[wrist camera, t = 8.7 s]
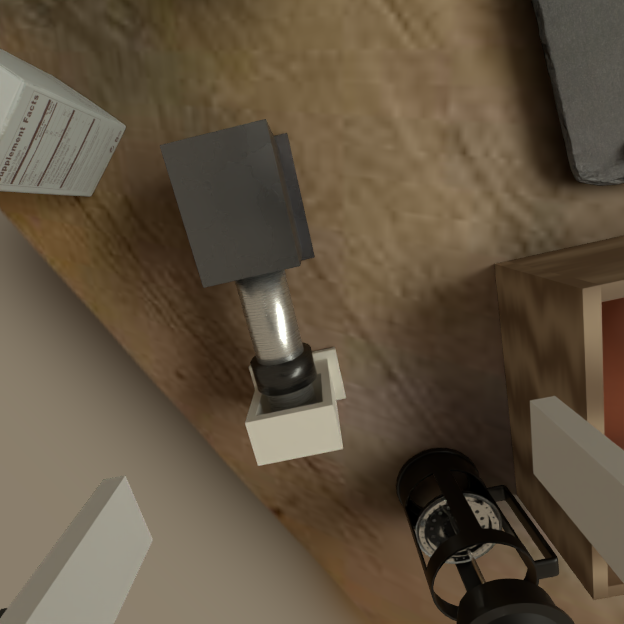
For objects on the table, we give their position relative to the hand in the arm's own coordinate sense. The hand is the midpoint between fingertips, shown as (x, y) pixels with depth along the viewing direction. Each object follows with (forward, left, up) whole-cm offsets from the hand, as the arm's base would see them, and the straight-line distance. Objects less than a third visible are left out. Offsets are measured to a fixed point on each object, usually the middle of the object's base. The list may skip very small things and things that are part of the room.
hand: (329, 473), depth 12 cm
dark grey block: (-9, -4, -26) cm, 28 cm away
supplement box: (-19, -18, -26) cm, 36 cm away
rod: (+1, -4, -22) cm, 22 cm away
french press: (+24, +9, -26) cm, 37 cm away
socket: (+8, -4, -26) cm, 27 cm away
